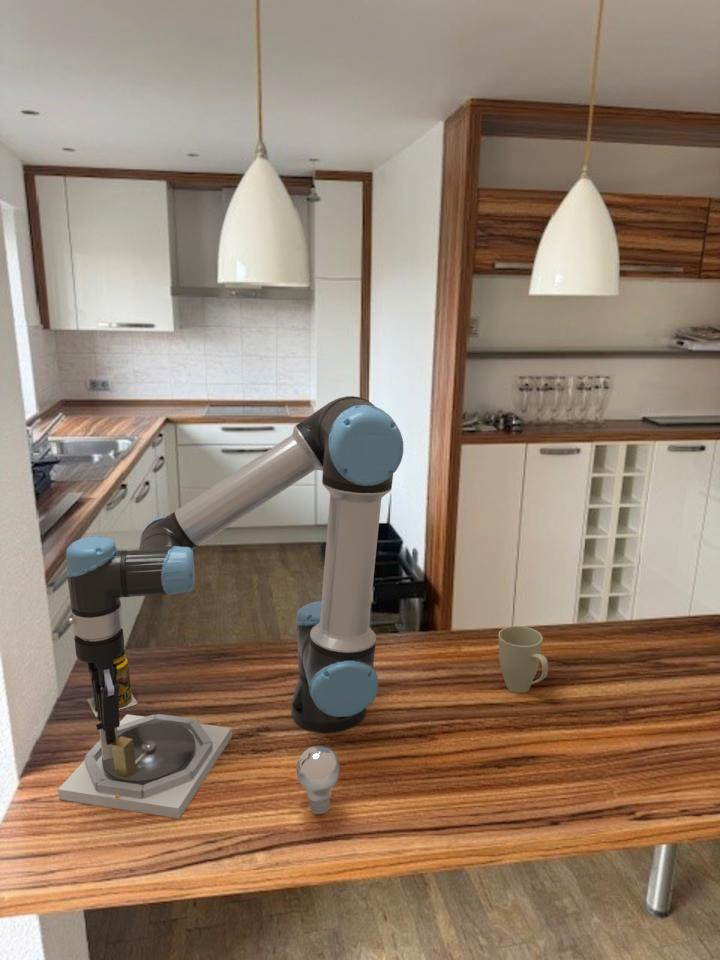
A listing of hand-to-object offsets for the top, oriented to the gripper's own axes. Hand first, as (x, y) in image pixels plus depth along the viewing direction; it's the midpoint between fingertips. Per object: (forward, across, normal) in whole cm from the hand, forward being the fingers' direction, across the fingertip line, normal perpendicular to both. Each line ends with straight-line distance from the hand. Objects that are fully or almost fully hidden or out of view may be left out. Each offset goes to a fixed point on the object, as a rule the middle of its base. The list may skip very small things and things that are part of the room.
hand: (110, 755), depth 123 cm
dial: (+3, -1, +7) cm, 8 cm away
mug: (+4, +15, +81) cm, 82 cm away
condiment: (+6, -26, +5) cm, 27 cm away
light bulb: (+5, +25, +27) cm, 37 cm away
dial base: (+6, -1, +7) cm, 9 cm away
